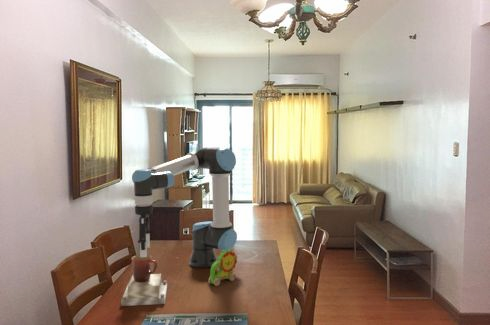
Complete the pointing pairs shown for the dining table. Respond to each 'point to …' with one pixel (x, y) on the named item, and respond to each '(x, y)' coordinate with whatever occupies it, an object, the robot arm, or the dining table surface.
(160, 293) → the mottled white flat box
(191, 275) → the dining table surface
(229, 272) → the toy lion
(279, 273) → the dining table surface
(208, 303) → the dining table surface
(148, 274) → the mug
